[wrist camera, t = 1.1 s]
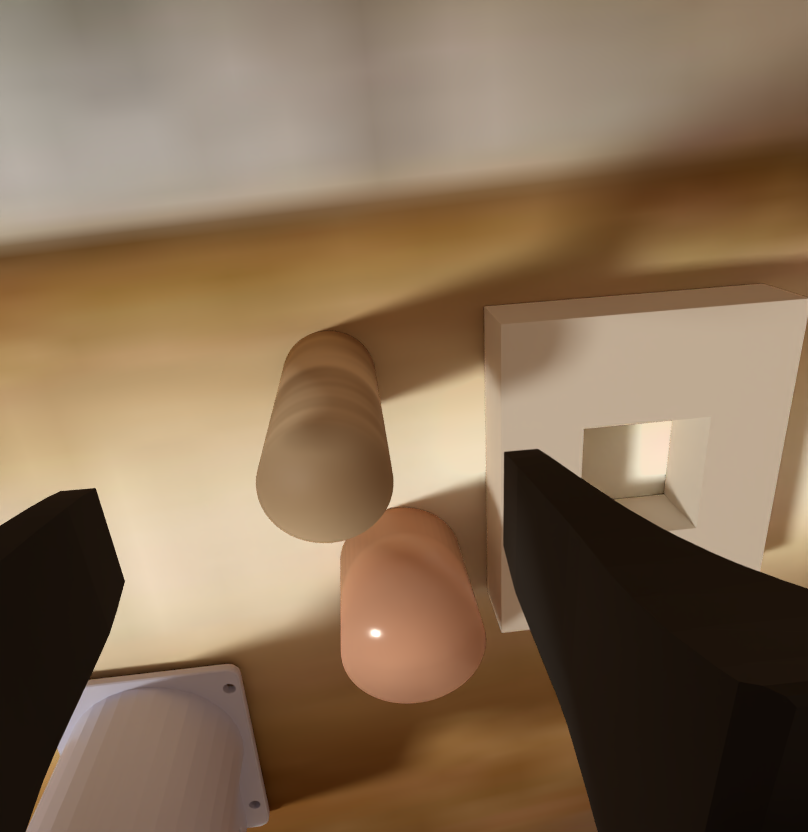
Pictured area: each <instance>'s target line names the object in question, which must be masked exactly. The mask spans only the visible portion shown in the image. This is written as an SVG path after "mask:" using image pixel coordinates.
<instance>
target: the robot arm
mask: <svg viewBox="0 0 808 832" xmlns="http://www.w3.org/2000/svg"><path fill="white" fill-rule="evenodd" d="M503 546H504V551H505V555H506V559H507V563H508V567H509V571H510V575H511V578H512V582H513V586H514V590H515V593H516V596H517V598H518V601H519V603H520V606H521V608H522V611H523V613H524V616H525V618H526V621H527V623H528V626H529V629H530V631H531V633H532V636H533V638H534V641H535V643H536V646H537V648H538V651H539V653H540V656H541V658H542V660H543V663H544V665H545V668H546V670H547V673H548V675H549V678H550V680H551V683H552V685H553V688H554V690H555V692H556V695H557V697H558V700H559V703H560V705H561V708H562V711H563V714H564V717H565V720H566V722H567V725H568V728H569V732H570V735H571V739H572V742H573V746H574V749H575V752H576V756H577V759H578V763H579V766H580V770H581V773H582V776H583V780H584V783H585V787H586V790H587V794H588V798H589V801H590V805H591V809H592V812H593V816H594V819H595V823H596V827H597V830H598V832H808V589H807V588H804V587H801V586H798V585H795V584H792V583H789V582H786V581H783V580H780V579H778V578H775V577H772V576H770V575H767V574H764V573H762V572H759V571H756V570H754V569H751V568H749V567H746V566H743V565H741V564H738V563H736V562H733V561H731V560H729V559H726V558H724V557H721V556H719V555H717V554H714V553H712V552H710V551H708V550H706V549H704V548H702V547H700V546H697V545H695V544H693V543H691V542H689V541H687V540H685V539H683V538H680V537H678V536H676V535H674V534H672V533H671V532H669V531H667V530H665V529H663V528H661V527H659V526H657V525H656V524H654V523H652V522H650V521H649V520H647V519H645V518H643V517H642V516H640V515H638V514H636V513H635V512H633V511H631V510H629V509H628V508H626V507H625V506H623V505H621V504H620V503H618V502H616V501H615V500H613V499H612V498H610V497H609V496H607V495H606V494H604V493H602V492H601V491H599V490H598V489H596V488H595V487H593V486H592V485H590V484H589V483H587V482H586V481H585V480H583V479H582V478H580V477H579V476H577V475H576V474H574V473H573V472H572V471H570V470H569V469H567V468H566V467H564V466H563V465H562V464H560V463H559V462H557V461H556V460H554V459H553V458H551V457H550V456H549V455H547V454H545V453H544V452H542V451H541V450H539V449H529V450H518V451H506V452H504V509H503ZM124 583H125V580H124V577H123V574H122V571H121V568H120V564H119V561H118V558H117V555H116V552H115V548H114V545H113V542H112V539H111V536H110V533H109V529H108V526H107V523H106V520H105V517H104V513H103V510H102V507H101V504H100V501H99V497H98V494H97V491H96V488H92V489H81V490H70V491H60V492H58V493H56V494H54V495H51V496H49V497H47V498H46V499H44V500H42V501H40V502H38V503H37V504H35V505H33V506H31V507H30V508H28V509H26V510H25V511H23V512H21V513H20V514H18V515H17V516H15V517H13V518H12V519H10V520H9V521H7V522H5V523H4V524H2V525H1V526H0V832H246V830H247V828H249V827H257V826H262V825H264V824H266V823H267V822H268V820H269V812H270V811H269V806H268V801H267V796H266V791H265V786H264V782H263V777H262V772H261V767H260V762H259V758H258V753H257V748H256V743H255V738H254V733H253V729H252V724H251V719H250V714H249V709H248V704H247V700H246V695H245V690H244V685H243V680H242V675H241V671H240V669H239V668H238V667H237V666H235V665H233V664H222V665H213V666H204V667H196V668H187V669H179V670H170V671H161V672H153V673H144V674H135V675H127V676H118V677H110V678H101V679H92V680H89V678H90V676H91V674H92V672H93V670H94V667H95V665H96V663H97V661H98V658H99V656H100V654H101V652H102V650H103V647H104V645H105V643H106V641H107V638H108V636H109V634H110V631H111V628H112V624H113V621H114V618H115V615H116V612H117V608H118V605H119V601H120V597H121V594H122V590H123V586H124ZM226 684H232V685H234V686H227V685H226ZM56 749H58V751H59V754H60V758H59V761H58V763H57V765H56V767H55V769H54V771H53V774H52V776H51V778H50V780H49V782H48V785H47V787H46V789H45V791H44V793H43V795H42V798H41V800H40V802H39V804H38V806H37V808H36V811H35V813H34V815H33V817H32V819H31V822H30V824H29V826H28V823H29V820H30V817H31V814H32V812H33V809H34V806H35V803H36V800H37V797H38V794H39V791H40V788H41V785H42V783H43V780H44V778H45V775H46V773H47V770H48V768H49V766H50V763H51V761H52V758H53V756H54V754H55V751H56ZM27 826H28V828H27ZM26 829H27V830H26Z"/></svg>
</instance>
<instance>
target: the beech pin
mask: <svg viewBox="0 0 808 832" xmlns="http://www.w3.org/2000/svg"><path fill="white" fill-rule="evenodd" d="M256 490H257V495H258V499H259V502H260V504H261V507H262V508H263V510H264V512H265V514H266V515H267V516H268V517H269V519H270V520H271V521H272V522H273V523H274V524H275V525H276V526H277V527H279V528H280V529H281V530H283V531H284V532H286V533H288V534H289V535H291V536H294V537H296V538H298V539H302V540H305V541H309V542H315V543H333V542H340V541H344V540H347V539H350V538H353V537H355V536H358V535H359V534H361V533H363V532H365V531H366V530H368V529H369V528H370V527H372V526H373V525H374V524H375V523H376V522H377V521H378V520H379V519H380V518H381V516H382V515H383V514H384V512H385V510H386V509H387V507H388V505H389V502H390V500H391V496H392V492H393V473H392V467H391V461H390V455H389V449H388V443H387V437H386V432H385V426H384V420H383V414H382V408H381V402H380V396H379V390H378V385H377V379H376V373H375V367H374V363H373V360H372V358H371V355H370V354H369V352H368V351H367V349H366V348H365V347H364V346H363V345H362V344H361V343H360V342H359V341H358V340H356V339H355V338H353V337H351V336H350V335H347V334H345V333H341V332H337V331H321V332H316V333H313V334H310V335H308V336H306V337H304V338H303V339H301V340H300V341H299V342H297V343H296V344H295V345H294V346H293V348H292V349H291V350H290V352H289V354H288V356H287V358H286V360H285V363H284V367H283V371H282V375H281V379H280V383H279V387H278V391H277V395H276V399H275V403H274V407H273V411H272V415H271V419H270V423H269V427H268V431H267V435H266V439H265V443H264V447H263V451H262V455H261V459H260V462H259V466H258V471H257V476H256Z"/></svg>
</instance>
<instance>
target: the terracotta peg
mask: <svg viewBox="0 0 808 832" xmlns="http://www.w3.org/2000/svg"><path fill="white" fill-rule="evenodd" d="M340 589H341V659H342V663H343V666H344V669H345V671H346V673H347V675H348V676H349V678H350V679H351V680H352V681H353V683H354V684H355V685H356V686H358V687H359V688H360V689H361V690H363V691H364V692H366V693H367V694H369V695H371V696H373V697H375V698H378V699H381V700H384V701H388V702H394V703H408V704H409V703H420V702H426V701H430V700H434V699H437V698H439V697H442V696H445V695H446V694H448V693H450V692H452V691H454V690H455V689H457V688H459V687H460V686H461V685H462V684H464V683H465V682H466V681H467V680H468V679H469V678H470V677H471V676H472V675H473V674H474V672H475V671H476V670H477V668H478V666H479V665H480V663H481V661H482V658H483V656H484V652H485V648H486V634H485V629H484V626H483V622H482V619H481V616H480V613H479V609H478V606H477V603H476V600H475V596H474V593H473V590H472V587H471V583H470V580H469V577H468V574H467V570H466V567H465V564H464V561H463V557H462V554H461V551H460V548H459V544H458V541H457V539H456V536H455V534H454V533H453V531H452V530H451V528H450V527H449V526H448V525H447V524H446V523H445V522H444V521H443V520H442V519H440V518H439V517H437V516H436V515H434V514H432V513H430V512H427V511H424V510H421V509H416V508H407V507H401V508H392V509H387V510H385V512H384V514H383V515H382V516H381V518H380V519H379V520H378V521H377V522H376V523H375V524H374V525H373V526H372V527H370V528H369V529H368V530H366V531H365V532H363V533H361V534H359V535H358V536H355V537H353V538H350V539H347V540H345V543H344V545H343V548H342V551H341V558H340Z"/></svg>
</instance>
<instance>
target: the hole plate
mask: <svg viewBox="0 0 808 832" xmlns="http://www.w3.org/2000/svg"><path fill="white" fill-rule="evenodd" d="M807 319H808V297H805V296H802V295H799V294H795V293H792V292H789V291H786V290H782V289H779V288H776V287H773V286H770V285H766V284H751V285H739V286H726V287H714V288H702V289H690V290H678V291H666V292H653V293H641V294H629V295H617V296H605V297H592V298H580V299H568V300H556V301H544V302H531V303H519V304H507V305H495V306H484V350H485V435H486V519H487V592H488V595H489V598H490V601H491V604H492V606H493V609H494V612H495V615H496V618H497V621H498V624H499V627H500V630H501V633H506V632H515V631H523V630H530V629H529V626H528V623H527V621H526V618H525V616H524V613H523V611H522V608H521V606H520V603H519V601H518V598H517V596H516V593H515V590H514V586H513V582H512V578H511V575H510V571H509V567H508V563H507V559H506V555H505V551H504V546H503V509H504V452H506V451H518V450H529V449H539V450H541V451H542V452H544V453H545V454H547V455H549V456H550V457H551V458H553V459H554V460H556V461H557V462H559V463H560V464H562V465H563V466H564V467H566V468H567V469H569V470H570V471H572V472H573V473H574V474H576V475H577V476H579V477H580V478H581V476H582V458H583V439H584V429H589V428H599V427H609V426H620V425H630V424H641V423H651V422H662V421H672V425H671V434H670V443H669V452H668V461H667V470H666V479H665V488H664V494H661V495H651V496H641V497H632V498H622V499H613V500H615V501H616V502H618V503H620V504H621V505H623V506H625V507H626V508H628V509H629V510H631V511H633V512H635V513H636V514H638V515H640V516H642V517H643V518H645V519H647V520H649V521H650V522H652V523H654V524H656V525H657V526H659V527H661V528H663V529H665V530H667V531H669V532H671V533H672V534H674V535H676V536H678V537H680V538H683V539H685V540H687V541H689V542H691V543H693V544H695V545H697V546H700V547H702V548H704V549H706V550H708V551H710V552H712V553H714V554H717V555H719V556H721V557H724V558H726V559H729V560H731V561H733V562H736V563H738V564H741V565H743V566H746V567H749V568H751V569H754V570H756V571H759V572H760V569H761V564H762V558H763V553H764V548H765V542H766V537H767V532H768V526H769V521H770V516H771V510H772V505H773V500H774V494H775V489H776V484H777V478H778V473H779V468H780V463H781V457H782V452H783V447H784V441H785V436H786V431H787V425H788V420H789V415H790V409H791V404H792V399H793V393H794V388H795V383H796V377H797V372H798V367H799V361H800V356H801V351H802V345H803V340H804V335H805V329H806V324H807Z"/></svg>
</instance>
